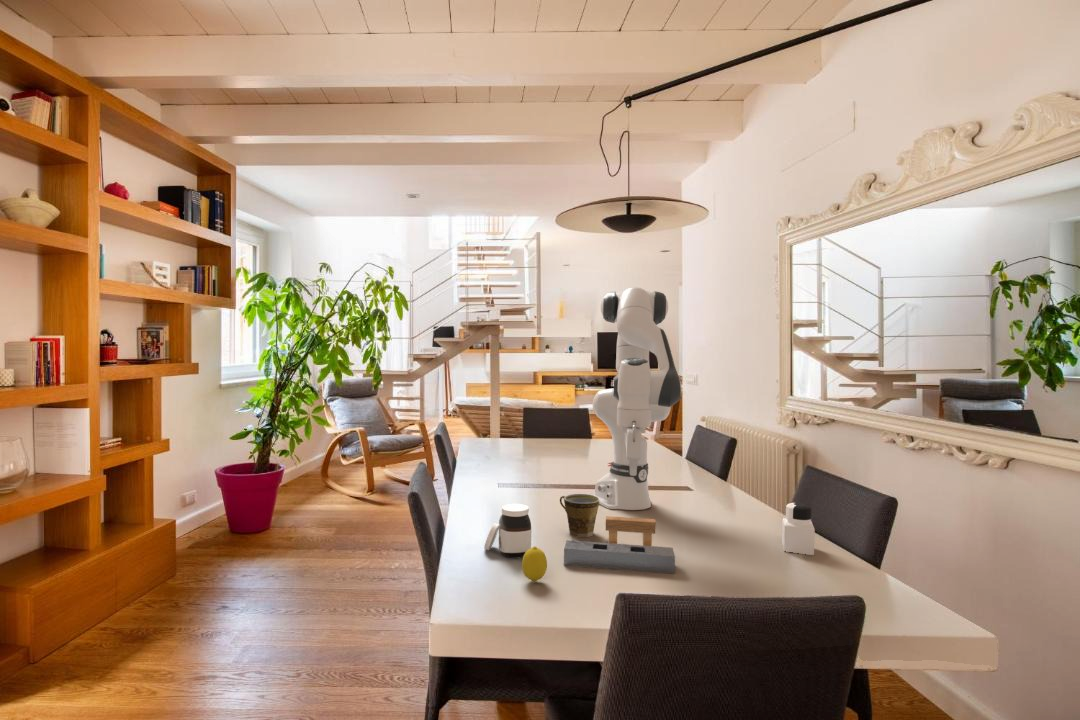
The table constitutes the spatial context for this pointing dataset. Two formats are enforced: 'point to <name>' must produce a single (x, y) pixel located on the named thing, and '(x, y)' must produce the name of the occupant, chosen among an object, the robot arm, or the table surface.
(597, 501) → the ceramic cup
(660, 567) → the rail
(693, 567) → the table surface
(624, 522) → the wooden arch block
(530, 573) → the lemon
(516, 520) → the spread jar
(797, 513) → the medicine bottle
